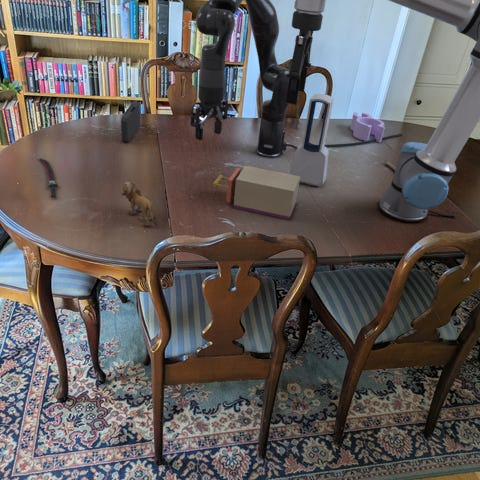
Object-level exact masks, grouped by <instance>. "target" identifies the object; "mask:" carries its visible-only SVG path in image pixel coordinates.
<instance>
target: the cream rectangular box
mask: <svg viewBox="0 0 480 480" xmlns="http://www.w3.org/2000/svg"><path fill="white" fill-rule="evenodd" d="M299 187H300V176H296V175H291V174H289V173H287V172H285V173H284V172H280V171H275V170H270V169H265V168H259V167H256V166H250V165H245V166H244V167H243V168H242V169H241V171H240V175H239V176H238V177H237V179H236V186H235V196H234V197H233V206H232V207H233V209H234V208H235V209H237V210H243V211H247V212H251V213H255V214H261V215H266V216H271V217H275V218H279V219H284V220H287V221H290V220H291V217H292V214H293V212H294V209H295V207H296V204H297V198H298V194H299V193H298V192H299Z"/></svg>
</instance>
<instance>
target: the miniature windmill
mask: <svg viewBox="0 0 480 480" xmlns="http://www.w3.org/2000/svg"><path fill="white" fill-rule="evenodd" d="M290 68H291V63H288V67H287V69H289V70H290ZM299 92H300V91H299ZM299 92H298V98H297V104H291V103H289V105H295V106H296V107H295V106H289V105H288V107H287V108H289V109H290V108H291V109H295V111H296V112H295V114H293V113H287V112H286V115H289V116H294V117H295V118H289V117H285V120H289V121H295V129H298V124H300V102H299V101H300V100H299V99H300V95H299V94H300V93H299Z"/></svg>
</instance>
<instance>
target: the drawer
mask: <svg viewBox="0 0 480 480" xmlns="http://www.w3.org/2000/svg"><path fill="white" fill-rule="evenodd" d="M241 172H242V168H241V167H236V168H235V170H234V171H233V173H232V174H231V175H230V176H229V177H228V176H227V177H226V176H224V175H223V174H219V175H218V176H217V177H216V179H215V180H214V181H213V183H212V188H216V187H218V188H223V189H227V191H226V192H227V193H226V203H228V204H230V203H231V202H232V200H234V197H235V186H236V179H237V177H238V176H239V175H240V173H241ZM222 180H227V185H224V184H220V182H221V181H222Z"/></svg>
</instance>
